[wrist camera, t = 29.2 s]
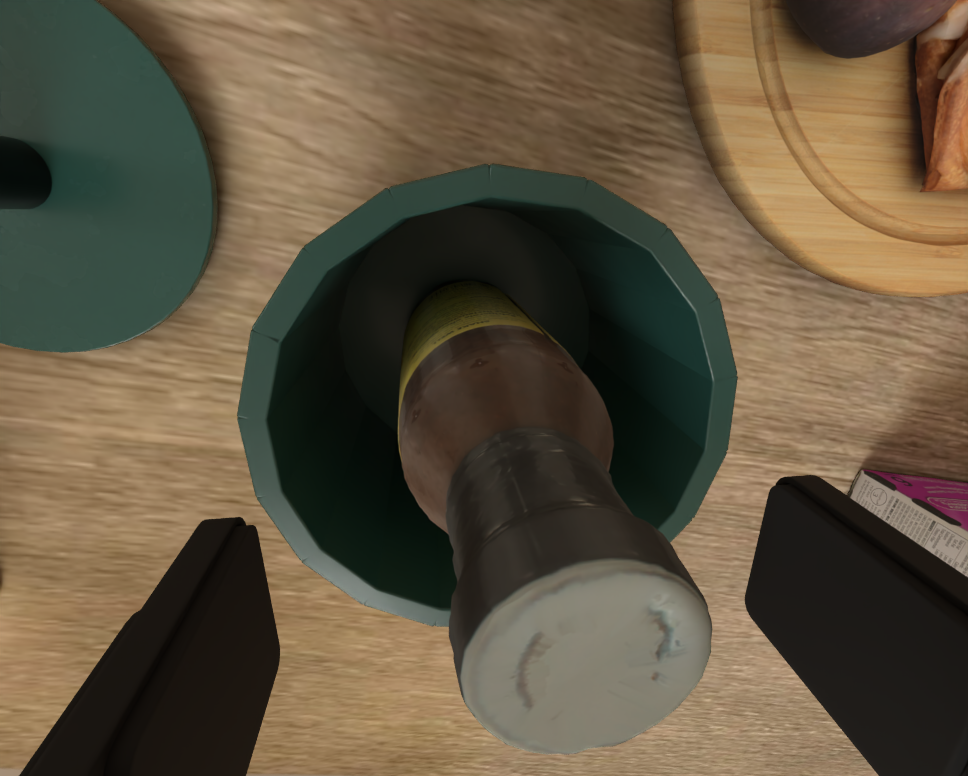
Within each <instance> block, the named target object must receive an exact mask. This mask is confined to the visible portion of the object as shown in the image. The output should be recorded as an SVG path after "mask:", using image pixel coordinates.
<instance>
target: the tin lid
mask: <svg viewBox="0 0 968 776" xmlns="http://www.w3.org/2000/svg"><path fill="white" fill-rule="evenodd" d="M217 212H218V203H217V188H216V180H215V175H214V170H213V165H212V160H211V156H210V153H209V150H208V147H207V144H206V141H205V137H204V134H203V132H202V130H201V127H200V125H199V123H198V121H197V118H196V116H195V114H194V112H193V110H192V107H191V106H190V104H189V102H188V101H187V99H186V97H185V95H184V94H183V92H182V90H181V89H180V87H179V85H178V83H177V82H176V80H175V79H174V78H173V76H172V75H171V74H170V72H169V71H168V70H167V68H166V67H165V66H164V64H163V63H162V61H161V60H160V59H159V57H158V56H157V55H156V54H155V53H154V52H153V51H152V50H151V49H150V47H149V46H148V45H147V44H146V43H145V42H144V41H143V40H142V39H141V38H140V36H139V35H138V34H137V33H136V32H134V31H133V30H132V29H131V28H130V27H129V26H128V25H127V24H126V23H124V22H123V21H122V20H121V19H120V18H119V17H118V16H117V15H116V14H114V13H113V12H112V11H111V10H109V9H108V8H106V7H105V6H104V5H102V4H101V3H99V2H98V1H97V0H0V343H2V344H6V345H10V346H13V347H19V348H25V349H30V350H36V351H47V352H82V351H90V350H96V349H101V348H107V347H110V346H113V345H117V344H120V343H123V342H126V341H129V340H131V339H133V338H135V337H137V336H140V335H142V334H144V333H146V332H148V331H150V330H152V329H153V328H155V327H156V326H158V325H159V324H161V323H162V322H164V321H165V320H167V319H168V318H169V317H170V316H171V315H172V314H173V313H174V312H175V311H177V310H178V309H179V308H180V307H181V306H182V305H183V304H184V302H185V301H186V300H187V299H188V297H189V296H190V295H191V293H192V292H193V291H194V290H195V288H196V286H197V284H198V283H199V281H200V279H201V277H202V275H203V274H204V272H205V269H206V266H207V264H208V261H209V258H210V256H211V253H212V249H213V244H214V239H215V234H216V228H217Z"/></svg>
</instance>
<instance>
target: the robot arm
mask: <svg viewBox="0 0 968 776" xmlns="http://www.w3.org/2000/svg"><path fill="white" fill-rule="evenodd" d="M745 605H746V608H747V611H748V613H749V615H750V617H751V618H752V620H753V621H754V622H755V623H756V624H757V626H758V627H759V628H760V629H761V631H762V632H763V633H764V634H765V636H766V637H767V638H768V639H769V641H770V642H771V643H772V644H773V645H774V647H775V648H776V649H777V650H778V652H779V653H780V654H781V655H782V657H783V658H784V659H785V660H786V661H787V663H788V664H789V665H790V666H791V668H792V669H793V670H794V671H795V673H796V674H797V675H798V676H799V678H800V679H801V680H802V681H803V682H804V684H805V685H806V686H807V687H808V689H809V690H810V691H811V692H812V694H813V695H814V696H815V697H816V699H817V700H818V701H819V702H820V703H821V705H822V706H823V707H824V708H825V710H826V711H827V712H828V713H829V715H830V716H831V717H832V718H833V720H834V721H835V722H836V723H837V724H838V726H839V727H840V728H841V729H842V731H843V732H844V733H845V734H846V736H847V737H848V738H849V739H850V740H851V742H852V743H853V744H854V745H855V747H856V748H857V749H858V750H859V752H860V753H861V754H862V755H863V757H864V758H865V759H866V760H867V761H868V763H869V764H870V765H871V766H872V768H873V769H874V770H875V771H876V773H877V774H878V775H879V776H968V577H967V576H965V575H964V574H962V573H961V572H959V571H958V570H956V569H955V568H953V567H952V566H950V565H949V564H947V563H946V562H944V561H943V560H941V559H940V558H939V557H937V556H936V555H934V554H933V553H931V552H930V551H928V550H927V549H925V548H924V547H922V546H921V545H919V544H918V543H916V542H915V541H913V540H912V539H910V538H909V537H907V536H906V535H904V534H903V533H901V532H900V531H899V530H897V529H896V528H894V527H893V526H891V525H890V524H888V523H887V522H885V521H884V520H882V519H881V518H879V517H878V516H876V515H875V514H873V513H872V512H870V511H869V510H867V509H866V508H864V507H863V506H861V505H860V504H859V503H857V502H856V501H854V500H853V499H851V498H850V497H848V496H847V495H845V494H844V493H842V492H841V491H839V490H838V489H836V488H835V487H833V486H832V485H830V484H829V483H827V482H826V481H824V480H823V479H821V478H820V477H817V476H815V475H805V476H792V477H783V478H781V479H779V481H778V482H777V483H776V486H773V487H772V488H771V489H770V492H769V495H768V499H767V504H766V508H765V512H764V517H763V521H762V525H761V530H760V534H759V538H758V542H757V547H756V551H755V555H754V560H753V564H752V568H751V573H750V577H749V581H748V586H747V590H746V594H745ZM279 660H280V645H279V639H278V634H277V629H276V624H275V619H274V614H273V609H272V604H271V598H270V593H269V588H268V583H267V578H266V573H265V568H264V563H263V557H262V552H261V547H260V542H259V537H258V532H257V529H256V527H255V526H254V525H246V523H245V521H244V520H243V518H241V517H235V518H221V519H208V520H204V521H202V522H201V523H200V524H199V525H198V527H197V528H196V530H195V531H194V533H193V534H192V536H191V537H190V539H189V540H188V541H187V543H186V544H185V546H184V547H183V549H182V550H181V552H180V553H179V555H178V556H177V558H176V559H175V560H174V562H173V563H172V565H171V566H170V568H169V569H168V571H167V572H166V574H165V575H164V577H163V578H162V579H161V581H160V582H159V584H158V585H157V587H156V588H155V590H154V591H153V593H152V594H151V596H150V597H149V598H148V600H147V601H146V603H145V604H144V606H143V607H142V609H141V610H140V611H138V612H136V613H134V614H133V615H132V616H131V618H130V619H129V620H128V621H127V622H126V623H125V625H124V626H123V628H122V629H121V631H120V632H119V633H118V635H117V636H116V638H115V639H114V641H113V642H112V643H111V645H110V646H109V648H108V649H107V651H106V652H105V653H104V655H103V656H102V658H101V659H100V661H99V662H98V664H97V665H96V666H95V668H94V669H93V671H92V672H91V674H90V675H89V676H88V678H87V679H86V681H85V682H84V684H83V685H82V686H81V688H80V689H79V691H78V692H77V694H76V695H75V696H74V698H73V699H72V701H71V702H70V704H69V705H68V706H67V708H66V709H65V711H64V712H63V714H62V715H61V717H60V718H59V719H58V721H57V722H56V724H55V725H54V727H53V728H52V729H51V731H50V732H49V734H48V735H47V737H46V738H45V739H44V741H43V742H42V744H41V745H40V747H39V748H38V749H37V751H36V752H35V754H34V755H33V757H32V758H31V759H30V761H29V762H28V764H27V765H26V767H25V768H24V770H23V771H22V772H21V774H20V775H19V776H246V774H247V770H248V767H249V764H250V760H251V757H252V754H253V750H254V747H255V744H256V740H257V737H258V734H259V730H260V727H261V724H262V720H263V717H264V714H265V710H266V707H267V704H268V700H269V697H270V694H271V690H272V687H273V684H274V680H275V677H276V674H277V670H278V666H279Z"/></svg>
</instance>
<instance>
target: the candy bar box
mask: <svg viewBox="0 0 968 776" xmlns="http://www.w3.org/2000/svg"><path fill="white" fill-rule="evenodd" d="M848 497H850V498H851V499H853V500H854V501H856V502H857V503H859V504H860V505H861V506H863V507H864V508H866V509H867V510H869V511H870V512H872V513H873V514H875V515H876V516H878V517H879V518H881V519H882V520H884V521H885V522H887V523H888V524H890V525H891V526H893V527H894V528H896V529H897V530H899V531H900V532H901V533H903V534H904V535H906V536H907V537H909V538H910V539H912V540H913V541H915V542H916V543H918V544H919V545H921V546H922V547H924V548H925V549H927V550H928V551H930V552H931V553H933V554H934V555H936V556H937V557H939V558H940V559H941V560H943V561H944V562H946V563H947V564H949V565H950V566H952V567H953V568H955V569H956V570H958V571H959V572H961V573H962V574H964V575H965V576H967V577H968V482H960V481H952V480H943V479H936V478H928V477H920V476H911V475H903V474H895V473H888V472H880V471H872V470H865V469H862V470H861V471H860V472H859V474H858V475H857V477H856V479H855V481H854V483H853V485H852V487H851V490H850V493H849V495H848Z"/></svg>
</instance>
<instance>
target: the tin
mask: <svg viewBox="0 0 968 776" xmlns="http://www.w3.org/2000/svg"><path fill="white" fill-rule="evenodd" d="M457 280H474V281H478V282H486V283H489V284H491V285H493V286H495V287H497V288H498V289H499V290H500V291H501V292H502V293H504V294H507V295H509V296H510V297H511V298H512V299H513V300H515V301H516V302H517V303H518V304H519V305H520V306H521V307H522V308H523V309H524V310H525V311H526V312H527V313H528V314H529V315H530V316H531V317H532V318H533V319H534V320H535V321H536V322H537V323H538V324H539V325H540V326H541V327H542V328H543V329H544V330H545V331H546V332H547V333H548V334H549V335H551V336H552V337H553V338H554V339H555V340H556V341H557V342H558V343H559V344H560V345H561V346H562V347H563V348H564V349H565V350H566V351H567V352H568V354H569V355H570V356H571V357H572V358H573V360H574V361H575V363H576V364H577V366H578V367H579V368H580V369H581V370H582V372H583V373H584V374H585V375H587V377H588V378H589V380H590V381H591V382H592V384H593V385H594V386H595V388H596V389H597V391H598V393H599V395H600V396H601V398H602V400H603V402H604V404H605V407H606V409H607V412H608V415H609V418H610V421H611V424H612V429H613V440H614V447H613V451H612V458H611V462H610V468H609V474H610V475H611V479H612V484H613V486H614V488H615V490H616V492H617V493H618V495H619V496H620V497H621V499H622V500H623V502H624V503H625V504H626V505H627V507H628V508H629V510H630V512H631V513H632V514H633V516H635V517H637V518H640V519H642V520H644V521H646V522H648V523H649V524H651V525H652V526H653V527H654V528H655V529H657V530H658V531H660V532H661V533H663V534H664V536H665V537H666V539H667V540H668V541H669V543H670V542H671V541H672V540H673V539H674V538H675V537H676V536H677V535H678V534H679V533H680V532H681V531H682V530H683V529H684V528H685V527H686V526H687V525H688V524H689V523H690V522H691V521H692V518H694V517H695V515H696V513H697V511H698V509H699V507H700V505H701V503H702V501H703V499H704V497H705V495H706V493H707V491H708V489H709V487H710V485H711V483H712V481H713V479H714V477H715V475H716V473H717V471H718V469H719V467H720V466H721V464H722V462H723V460H724V458H725V456H726V454H727V452H726V451H727V450H728V444H729V437H730V429H731V422H732V415H733V407H734V400H735V393H736V386H737V378H738V377H737V370H736V366H735V362H734V357H733V353H732V349H731V345H730V340H729V336H728V332H727V328H726V323H725V319H724V315H723V311H722V306H721V302H720V299H719V298H718V295H717V293H716V292H715V290H714V289H713V288H712V286H711V285H710V283H709V282H708V281H707V279H706V278H705V276H704V275H703V274H702V272H701V271H700V270H699V268H698V267H697V265H696V264H695V263H694V261H693V260H692V258H691V257H690V256H689V254H688V253H687V251H686V250H685V249H684V247H683V246H682V245H681V243H680V242H679V240H678V239H677V238H676V236H675V235H674V233H673V232H672V231H671V229H669V228H667V226H666V225H665V224H664V223H662V222H660V221H659V220H657V219H655V218H654V217H652V216H650V215H649V214H647V213H645V212H644V211H642V210H641V209H639V208H637V207H636V206H634V205H632V204H631V203H629V202H627V201H626V200H624V199H622V198H621V197H619V196H617V195H616V194H614V193H612V192H611V191H609V190H608V189H606V188H604V187H603V186H601V185H599V184H598V183H596V182H594V181H593V180H587V179H586V178H585V177H578V176H572V175H565V174H559V173H552V172H545V171H539V170H532V169H526V168H519V167H512V166H506V165H499V164H490V165H488V164H483V165H478V166H474V167H470V168H466V169H462V170H457V171H453V172H449V173H445V174H441V175H436V176H432V177H428V178H424V179H420V180H415V181H411V182H407V183H403V184H399V185H395V186H391V187H390V188H389V189H388V188H385V189H384V190H383V191H381V192H380V193H378V194H377V195H375V196H374V197H373V198H371V199H370V200H368V201H367V202H366V203H364V204H363V205H361V206H360V207H359V208H357V209H356V210H354V211H353V212H351V213H350V214H349V215H347V216H346V217H344V218H343V219H342V220H340V221H339V222H337V223H336V224H335V225H333V226H332V227H330V228H329V229H327V230H326V231H325V232H323V233H322V234H320V235H319V236H318V237H316V238H315V239H313V240H312V241H311V242H309V243H308V244H306V245H305V246H304V248H302V249H301V251H300V253H299V254H298V256H297V257H296V259H295V261H294V262H293V264H292V265H291V267H290V268H289V270H288V272H287V273H286V275H285V276H284V278H283V279H282V281H281V283H280V284H279V286H278V287H277V289H276V291H275V292H274V294H273V295H272V297H271V298H270V300H269V302H268V303H267V305H266V306H265V308H264V309H263V311H262V313H261V314H260V316H259V317H258V319H257V321H256V322H255V324H254V325H253V327H252V330H251V334H250V340H249V346H248V352H247V358H246V364H245V370H244V376H243V382H242V388H241V394H240V400H239V406H238V412H237V416H238V419H237V420H238V424H239V428H240V432H241V436H242V441H243V445H244V449H245V453H246V457H247V461H248V466H249V470H250V474H251V478H252V482H253V487H254V491H255V495H256V497H257V499H258V501H259V502H260V504H261V505H262V507H263V508H264V509H265V511H266V512H267V514H268V515H269V517H270V518H271V519H272V521H273V522H274V524H275V525H276V526H277V528H278V529H279V531H280V532H281V534H282V535H283V536H284V538H285V539H286V541H287V542H288V543H289V545H290V546H291V548H292V549H293V551H294V552H295V553H296V555H297V556H298V558H299V559H300V560H302V563H304V564H305V565H306V566H308V567H309V568H311V569H312V570H314V571H315V572H316V573H318V574H319V575H321V576H322V577H324V578H325V579H326V580H328V581H329V582H331V583H332V584H334V585H335V586H337V587H338V588H339V589H341V590H342V591H344V592H345V593H347V594H348V595H349V596H351V597H352V598H354V599H355V600H357V601H358V602H359V603H361V604H364V605H365V606H368V607H371V608H375V609H378V610H381V611H384V612H388V613H391V614H394V615H397V616H401V617H404V618H407V619H410V620H414V621H417V622H420V623H423V624H427V625H430V626H434V625H435V626H440V627H449V619H450V615H451V600H452V594H453V593H454V591H455V589H456V585H457V577H456V574H455V570H454V565H453V560H452V559H453V554H454V550H453V548H452V545H451V543H450V539H449V534H447V533H446V532H445V531H444V530H442V529H441V528H440V527H439V526H437V525H436V524H435V523H433V522H432V521H431V520H430V519H429V517H428V515H427V514H426V513H425V512H424V511H423V510H422V508H420V506H419V504H418V503H417V501H416V499H415V497H414V495H413V494H412V492H411V491H410V489H409V487H408V484H407V482H406V480H405V479H404V471H403V468H402V461H401V457H400V452H399V443H398V417H399V389H400V374H401V357H402V351H403V339H404V334H405V330H406V327H407V324H408V321H409V319H410V317H411V314H412V312H413V310H414V308H415V307H416V305H417V304H418V303H419V302H420V301H421V300H422V299H423V298H424V297H425V296H426V295H427V294H429V293H430V292H431V291H432V290H433V289H434V288H435V287H436V286H438V285H440V284H442V283H445V282H449V281H457Z"/></svg>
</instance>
